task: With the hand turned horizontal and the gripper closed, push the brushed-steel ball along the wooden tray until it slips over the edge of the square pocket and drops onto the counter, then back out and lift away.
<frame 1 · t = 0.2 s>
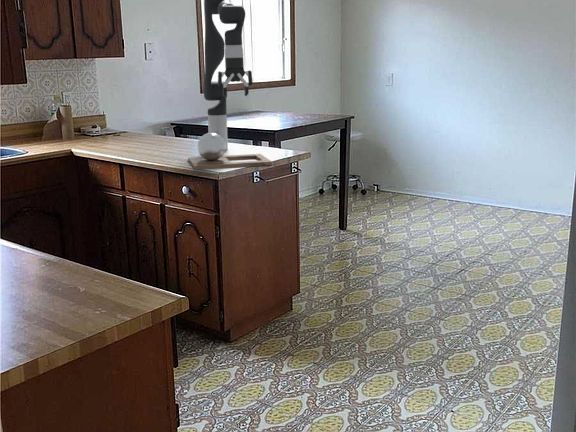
hand: (235, 96, 264), 29 cm above the worktop, fingers open, 8 cm apart
wooden tray: (234, 162, 275), on the worktop
ball: (211, 146, 270), point 7 cm above the worktop, touching wooden tray
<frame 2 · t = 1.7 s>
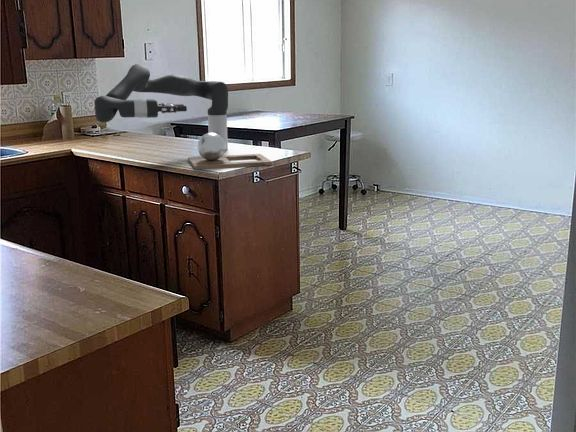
hand: (185, 107, 262), 24 cm above the worktop, fingers open, 8 cm apart
nothing on the worktop moved.
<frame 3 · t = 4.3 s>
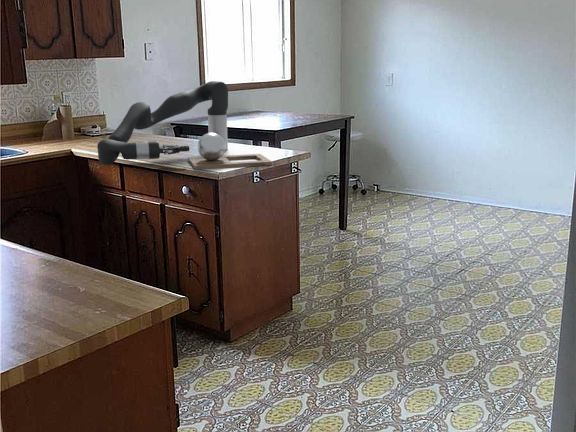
hand: (189, 148, 267), 7 cm above the worktop, fingers closed
nothing on the worktop moved.
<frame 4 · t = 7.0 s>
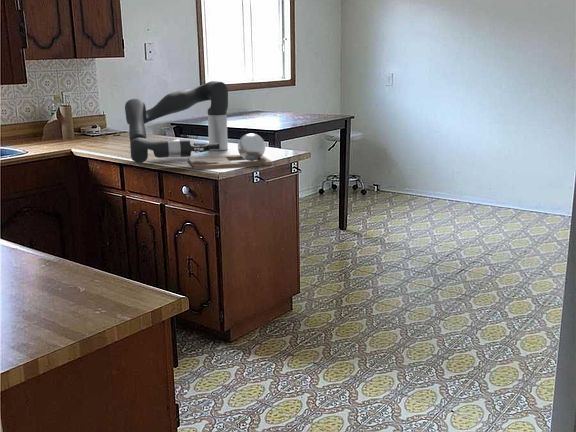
hand: (219, 146, 271), 8 cm above the worktop, fingers closed
ball: (251, 147, 275), point 6 cm above the worktop, tilted 170°
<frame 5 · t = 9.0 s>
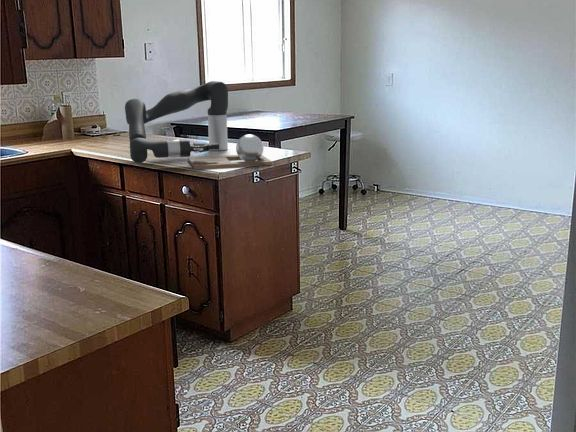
hand: (218, 146, 271), 7 cm above the worktop, fingers closed
ball: (249, 148, 275), point 6 cm above the worktop, tilted 170°
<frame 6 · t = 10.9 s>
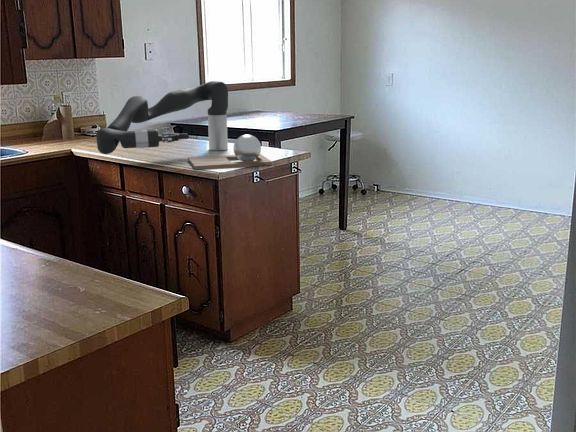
hand: (188, 136, 266), 13 cm above the worktop, fingers closed
ball: (247, 148, 274), point 6 cm above the worktop, tilted 159°
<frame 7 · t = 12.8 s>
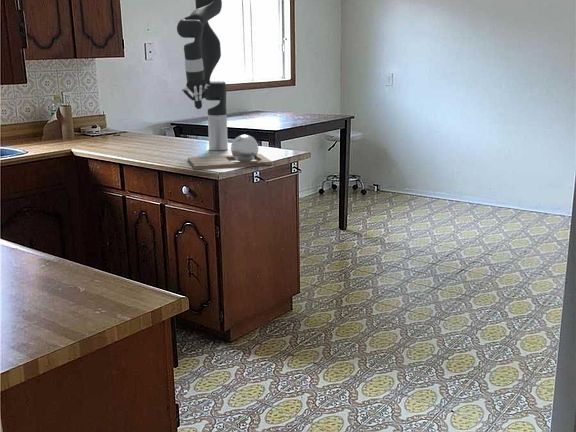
hand: (198, 108, 272), 23 cm above the worktop, fingers closed
ball: (244, 148, 274), point 6 cm above the worktop, tilted 148°
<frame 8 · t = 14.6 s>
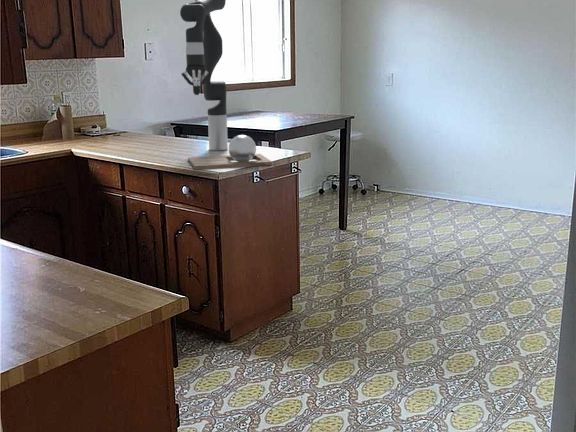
hand: (196, 94, 272), 29 cm above the worktop, fingers closed
ball: (242, 148, 274), point 6 cm above the worktop, tilted 138°
at the end: ball inside the target area on the wooden tray (0.2 cm from its centre), point 6.0 cm above the wooden tray's base; ball touching worktop; the gripper is holding nothing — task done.
